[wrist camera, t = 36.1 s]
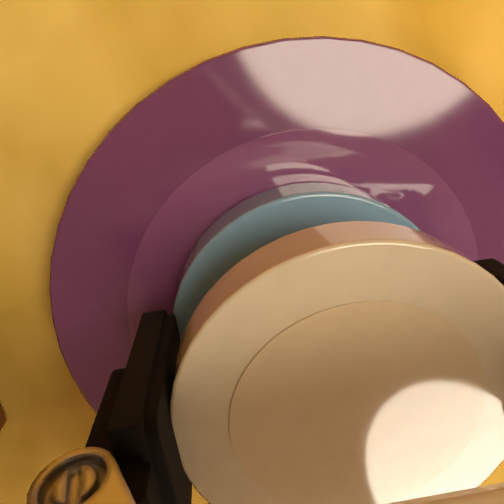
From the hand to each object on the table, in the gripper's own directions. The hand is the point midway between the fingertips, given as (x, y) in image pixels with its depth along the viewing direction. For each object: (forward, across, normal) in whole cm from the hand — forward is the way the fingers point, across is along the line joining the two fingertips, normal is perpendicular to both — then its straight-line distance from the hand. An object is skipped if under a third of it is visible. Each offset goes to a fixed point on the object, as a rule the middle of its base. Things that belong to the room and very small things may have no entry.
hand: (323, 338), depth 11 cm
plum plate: (+2, 0, 0) cm, 2 cm away
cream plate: (-2, 0, 0) cm, 2 cm away
